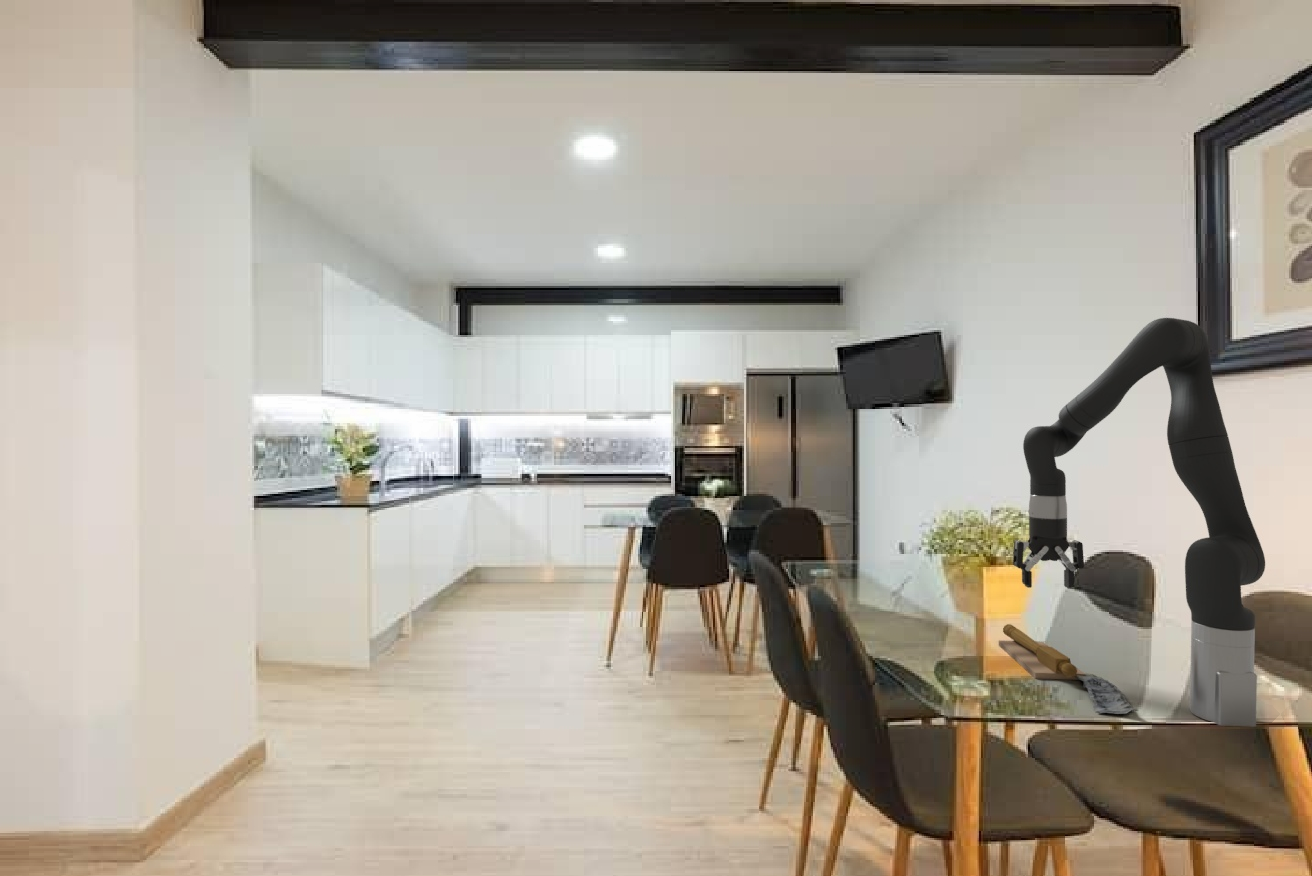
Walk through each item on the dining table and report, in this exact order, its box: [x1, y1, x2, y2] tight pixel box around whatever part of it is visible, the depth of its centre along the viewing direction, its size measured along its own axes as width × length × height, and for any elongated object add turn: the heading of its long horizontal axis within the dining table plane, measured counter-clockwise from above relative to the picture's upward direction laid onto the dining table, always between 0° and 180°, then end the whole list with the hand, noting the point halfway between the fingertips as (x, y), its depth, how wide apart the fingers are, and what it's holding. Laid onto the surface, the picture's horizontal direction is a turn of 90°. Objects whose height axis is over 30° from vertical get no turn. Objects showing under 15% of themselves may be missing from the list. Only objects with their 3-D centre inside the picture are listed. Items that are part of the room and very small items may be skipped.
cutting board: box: [998, 639, 1085, 681], centre depth 164 cm, size 22×10×1 cm, turn 173°
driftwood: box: [1076, 672, 1139, 715], centre depth 144 cm, size 21×7×2 cm, turn 161°
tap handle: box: [1002, 623, 1077, 677], centre depth 165 cm, size 3×3×30 cm
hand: (1048, 587), depth 164 cm, fingers open, 8 cm apart
